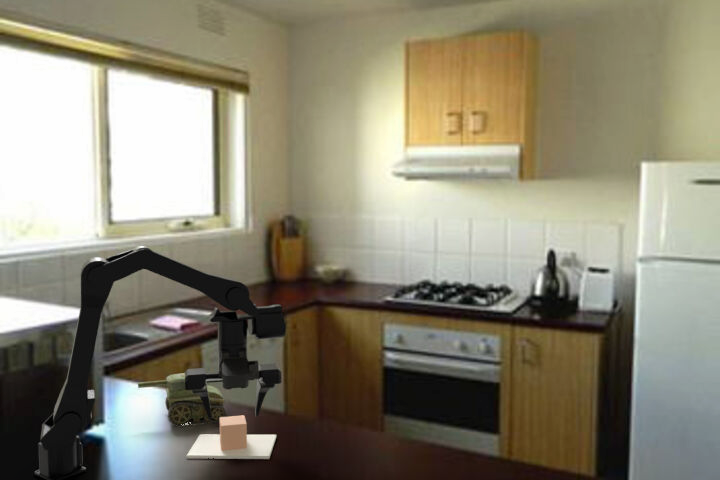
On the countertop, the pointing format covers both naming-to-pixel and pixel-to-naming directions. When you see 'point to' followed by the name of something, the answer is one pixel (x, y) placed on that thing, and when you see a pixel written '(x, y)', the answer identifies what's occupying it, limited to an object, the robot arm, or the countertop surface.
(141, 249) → the robot arm
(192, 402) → the toy
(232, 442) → the block
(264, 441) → the board
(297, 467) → the countertop surface
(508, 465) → the countertop surface
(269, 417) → the countertop surface
